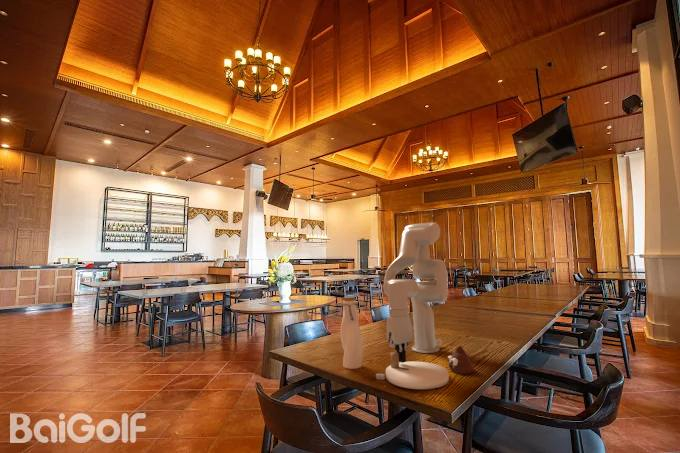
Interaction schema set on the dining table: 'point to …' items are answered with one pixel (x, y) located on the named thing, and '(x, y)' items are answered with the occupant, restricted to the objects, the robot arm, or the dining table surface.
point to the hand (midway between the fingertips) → (401, 361)
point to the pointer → (380, 376)
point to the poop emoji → (460, 362)
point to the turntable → (416, 374)
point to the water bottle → (351, 334)
